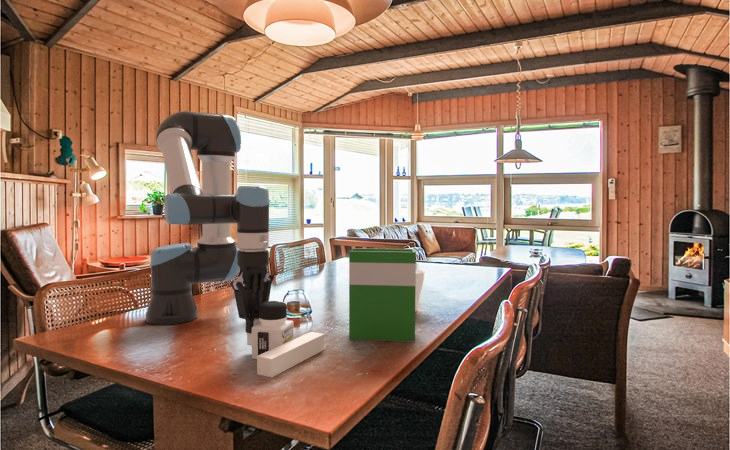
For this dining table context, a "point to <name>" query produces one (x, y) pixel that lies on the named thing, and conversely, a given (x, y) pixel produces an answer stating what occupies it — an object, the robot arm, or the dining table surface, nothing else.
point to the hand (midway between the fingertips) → (253, 344)
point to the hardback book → (382, 294)
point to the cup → (418, 286)
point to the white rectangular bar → (289, 354)
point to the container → (271, 328)
